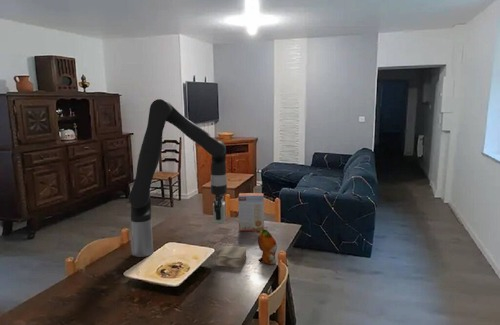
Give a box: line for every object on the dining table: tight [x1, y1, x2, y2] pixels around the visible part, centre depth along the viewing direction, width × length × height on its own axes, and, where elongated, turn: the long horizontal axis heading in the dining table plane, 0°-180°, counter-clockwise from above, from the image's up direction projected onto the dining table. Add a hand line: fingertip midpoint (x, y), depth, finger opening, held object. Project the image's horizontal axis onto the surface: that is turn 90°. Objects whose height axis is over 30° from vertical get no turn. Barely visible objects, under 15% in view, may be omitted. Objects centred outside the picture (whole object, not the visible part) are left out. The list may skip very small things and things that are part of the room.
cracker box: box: [237, 192, 265, 232], centre depth 205 cm, size 14×6×21 cm, turn 84°
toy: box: [257, 228, 278, 265], centre depth 166 cm, size 11×9×15 cm
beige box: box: [215, 245, 247, 268], centre depth 167 cm, size 11×11×5 cm
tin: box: [212, 201, 226, 224], centre depth 175 cm, size 5×5×9 cm
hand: (219, 217), depth 176 cm, fingers closed on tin, 5 cm apart
